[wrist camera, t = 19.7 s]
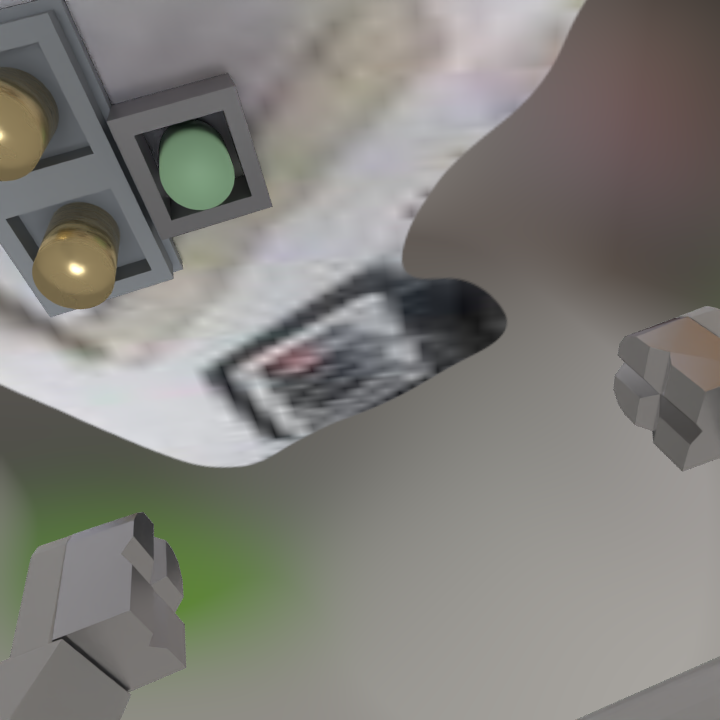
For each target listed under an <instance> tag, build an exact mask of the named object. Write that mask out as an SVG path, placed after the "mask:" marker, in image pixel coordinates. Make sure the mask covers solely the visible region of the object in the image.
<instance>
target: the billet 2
mask: <svg viewBox="0 0 720 720" xmlns="http://www.w3.org/2000/svg"><path fill="white" fill-rule="evenodd" d="M119 244H120V231H119V227H118V225H117V223H116V221H115V220H114V219H113V217H112V216H111V215H110V214H109V213H108V212H106V211H105V210H104V209H102V208H100V207H98V206H96V205H93V204H90V203H84V202H75V203H69V204H67V205H64V206H62V207H60V208H59V209H58V210H57V211H56V212H55V213H54V214H53V216H52V218H51V220H50V222H49V225H48V228H47V230H46V233H45V235H44V238H43V240H42V243H41V245H40V248H39V250H38V253H37V256H36V258H35V261H34V263H33V267H32V276H33V280H34V283H35V285H36V287H37V289H38V290H39V291H40V292H41V294H42V295H43V296H45V297H46V298H47V299H48V300H50V301H51V302H53V303H55V304H57V305H60V306H62V307H66V308H71V309H87V308H91V307H94V306H97V305H99V304H101V303H102V302H104V301H105V300H106V299H107V298H108V297H109V296H110V294H111V293H112V291H113V288H114V284H115V276H116V268H117V260H118V252H119Z"/></svg>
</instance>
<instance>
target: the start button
mask: <svg viewBox="0 0 720 720" xmlns="http://www.w3.org/2000/svg"><path fill="white" fill-rule="evenodd" d="M159 173H160V179H161V183H162V185H163V187H164V189H165V191H166V192H167V194H168V195H169V196H170V197H171V198H172V199H173V200H174V201H175V202H177V203H178V204H180V205H182V206H184V207H186V208H189V209H194V210H207V209H211V208H213V207H216V206H218V205H219V204H221V203H222V202H223V201H224V200H226V198H227V197H228V196H229V194H230V193H231V191H232V188H233V185H234V180H235V173H234V168H233V164H232V161H231V158H230V156H229V153H228V150H227V147H226V145H225V142H224V140H223V138H222V137H221V135H220V134H219V133H218V132H217V131H216V130H215V129H214V128H213V127H212V126H210V125H209V124H207V123H205V122H202V121H199V120H192V119H191V120H187V121H184V122H180V123H177V124H173V125H171V126H170V127H169V128H168V129H167V130H166V131H165V132H164V134H163V136H162V138H161V141H160V145H159Z"/></svg>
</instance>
